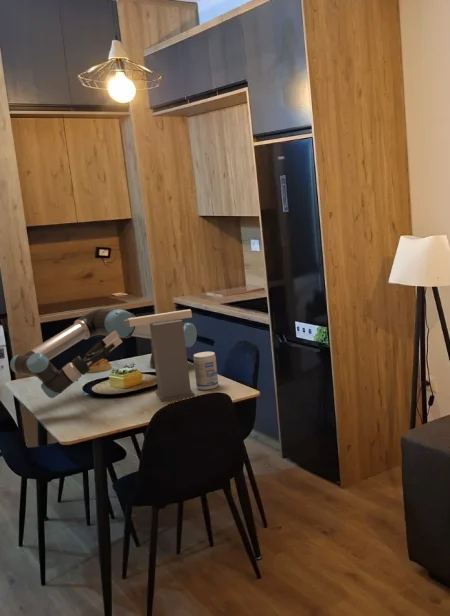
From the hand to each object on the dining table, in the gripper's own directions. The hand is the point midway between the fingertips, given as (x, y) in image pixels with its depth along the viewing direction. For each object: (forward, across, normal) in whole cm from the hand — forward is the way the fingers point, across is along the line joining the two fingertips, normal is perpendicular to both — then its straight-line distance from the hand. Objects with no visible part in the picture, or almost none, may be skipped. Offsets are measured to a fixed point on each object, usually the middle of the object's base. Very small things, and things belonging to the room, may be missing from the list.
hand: (118, 335), depth 264 cm
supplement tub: (+16, -2, -42) cm, 45 cm away
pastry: (-22, -66, -21) cm, 72 cm away
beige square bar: (+17, 0, -6) cm, 18 cm away
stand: (+3, 0, -35) cm, 35 cm away
